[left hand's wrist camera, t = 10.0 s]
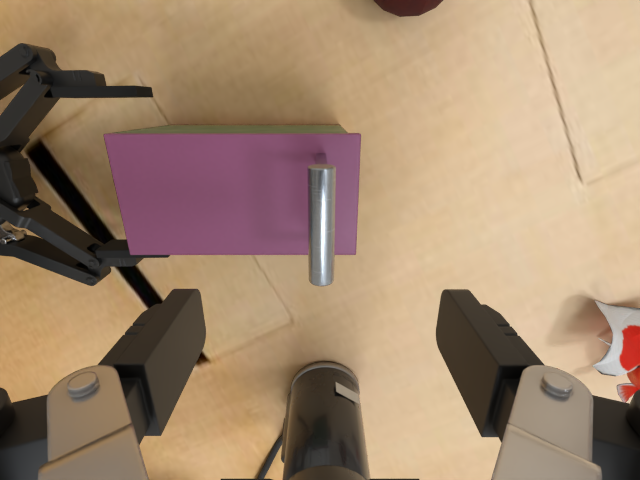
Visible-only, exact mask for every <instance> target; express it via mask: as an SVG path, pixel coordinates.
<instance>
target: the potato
mask: <svg viewBox="0 0 640 480" xmlns="http://www.w3.org/2000/svg"><path fill="white" fill-rule="evenodd" d="M374 1H375V2H376V3H377V4H378V5H379V6H380V7H381V8H382V9H383V10H385V11H387V12H390V13H392V14H395V15H397V16H400V17H401V16H419V15H421V14H423V13H425V12H428V11H430V10H432V9H434V8H436V7H437V6H438V5H439V4H440V3H441V2H442V1H443V0H374Z"/></svg>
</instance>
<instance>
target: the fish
mask: <svg viewBox="0 0 640 480" xmlns="http://www.w3.org/2000/svg"><path fill="white" fill-rule="evenodd" d="M594 301H595V303H596V304H597V306H598V307H599V309H600V310H601V312H602V313H603V314H604V316H605V317H606V319H607V321H608V323H609V325H610V328H611V330H612V333H613V338H612V344H611V343H608V342H606V341H604V340H602V339H600V338H598V339H600V340H601V341H603V342H604V343H606V344H607V345H609V346H610V347H609V349H608V351H607V353H606V354H605V356H604V357H603V358H602V359H601V361H600V362H598V363H597V364H595V365H593V367H594V368H595V369H596V370H598V371H599V372H600V373H601V374H604V375H611V376H619V375H623V374H626V373H627V376H628V378H629V380H630V381H631V383H625V384H619V385H617V391H618V395H619V396H620V398H621V399H622V401H623V402H624V403H626V402H627V401H628V399H629V398H630V397H631V396H632V395H633V394H634V393H635V392H636V391H637V390H639V389H640V308H631V307H622V306H613V305H607V304H604V303H602V302H599V301H596V300H594Z"/></svg>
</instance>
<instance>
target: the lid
mask: <svg viewBox="0 0 640 480" xmlns="http://www.w3.org/2000/svg"><path fill="white" fill-rule="evenodd" d="M104 139H105V144H106V148H107V153H108V157H109V162H110V166H111V171H112V175H113V180H114V184H115V189H116V193H117V198H118V202H119V206H120V211H121V215H122V220H123V224H124V229H125V233H126V238H127V242H128V247H129V251H130V255H309V281H310V283H311V284H313V285H316V286H327V285H330V284H331V283H333V281H334V255H356V240H357V216H358V193H359V169H360V146H361V134H360V133H108V134H104Z"/></svg>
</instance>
